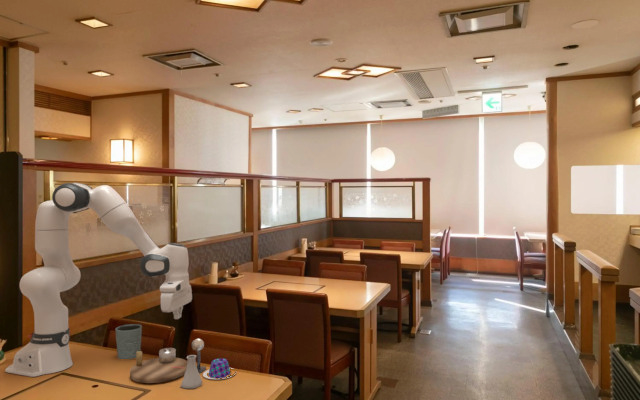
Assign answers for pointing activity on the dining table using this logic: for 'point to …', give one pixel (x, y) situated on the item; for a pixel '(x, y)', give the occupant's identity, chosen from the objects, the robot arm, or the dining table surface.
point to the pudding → (218, 369)
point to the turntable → (156, 370)
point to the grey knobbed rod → (198, 352)
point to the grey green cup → (128, 340)
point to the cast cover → (167, 355)
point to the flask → (191, 374)
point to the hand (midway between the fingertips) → (177, 318)
